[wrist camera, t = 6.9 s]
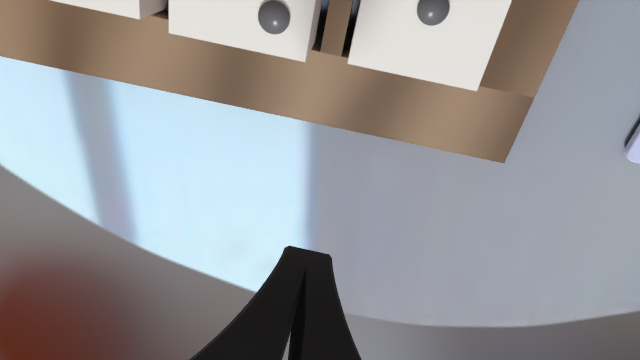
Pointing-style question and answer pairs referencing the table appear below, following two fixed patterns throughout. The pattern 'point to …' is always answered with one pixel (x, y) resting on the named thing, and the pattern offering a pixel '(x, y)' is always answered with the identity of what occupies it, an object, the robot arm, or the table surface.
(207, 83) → the tile board
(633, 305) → the table surface
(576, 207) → the table surface
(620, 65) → the table surface
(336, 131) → the table surface
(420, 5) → the one dot tile
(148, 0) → the three dot tile
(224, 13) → the two dot tile
